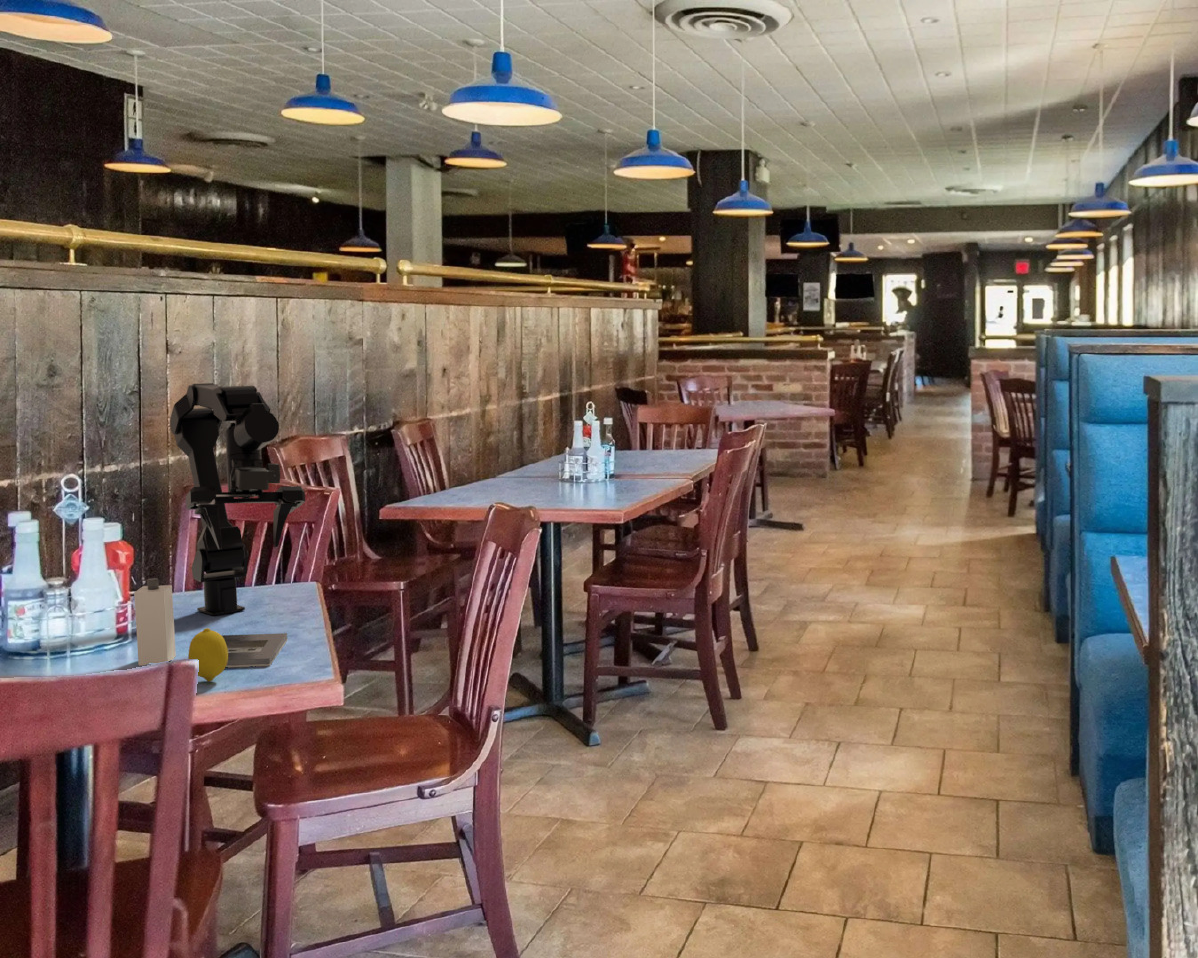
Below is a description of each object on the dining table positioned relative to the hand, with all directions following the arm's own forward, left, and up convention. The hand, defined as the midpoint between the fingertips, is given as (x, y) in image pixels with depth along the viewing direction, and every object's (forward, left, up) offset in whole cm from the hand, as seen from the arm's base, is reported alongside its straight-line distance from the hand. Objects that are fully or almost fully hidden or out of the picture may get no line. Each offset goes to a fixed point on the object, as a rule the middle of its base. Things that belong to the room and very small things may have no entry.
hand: (248, 548), depth 206 cm
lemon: (+20, -18, -15) cm, 31 cm away
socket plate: (+9, -7, -15) cm, 19 cm away
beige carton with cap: (+3, -18, -15) cm, 24 cm away
